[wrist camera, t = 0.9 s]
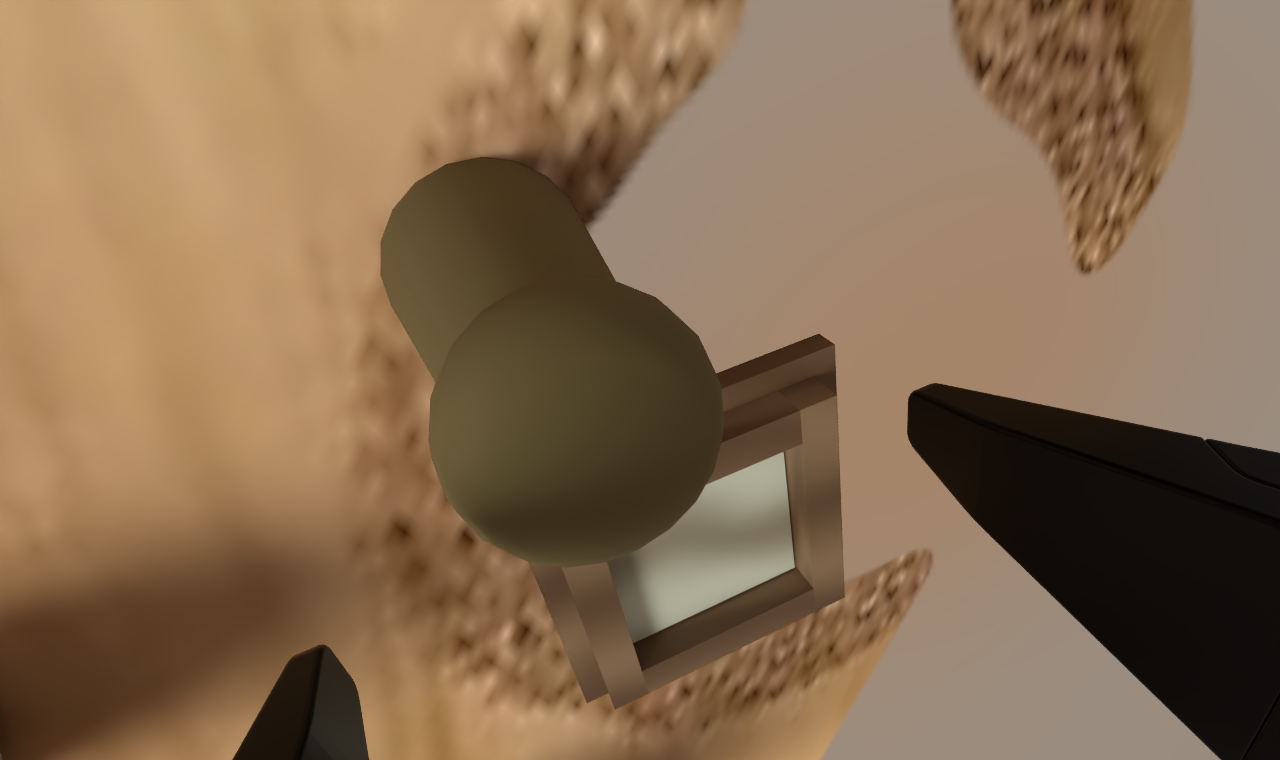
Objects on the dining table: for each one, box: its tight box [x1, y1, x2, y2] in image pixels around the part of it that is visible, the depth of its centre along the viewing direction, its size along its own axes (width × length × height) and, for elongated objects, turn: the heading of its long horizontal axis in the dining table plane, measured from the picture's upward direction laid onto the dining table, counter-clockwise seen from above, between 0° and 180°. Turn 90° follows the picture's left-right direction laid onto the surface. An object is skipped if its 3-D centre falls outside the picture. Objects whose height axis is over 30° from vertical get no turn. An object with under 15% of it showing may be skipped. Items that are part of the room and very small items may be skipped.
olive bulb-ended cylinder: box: [381, 157, 724, 568], centre depth 15 cm, size 6×6×11 cm
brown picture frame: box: [529, 334, 845, 709], centre depth 26 cm, size 13×13×2 cm
